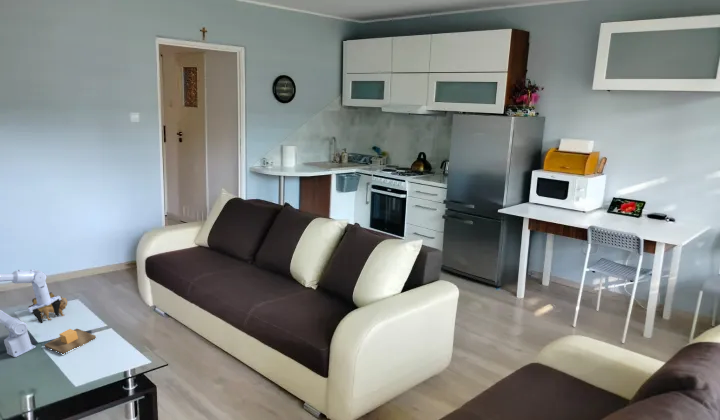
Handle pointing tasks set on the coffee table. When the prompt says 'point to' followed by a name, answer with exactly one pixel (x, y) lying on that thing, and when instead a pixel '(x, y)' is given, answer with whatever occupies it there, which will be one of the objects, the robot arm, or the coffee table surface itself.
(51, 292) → the wooden carving
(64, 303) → the lion figurine
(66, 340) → the tan rounded cube
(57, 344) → the walnut board
